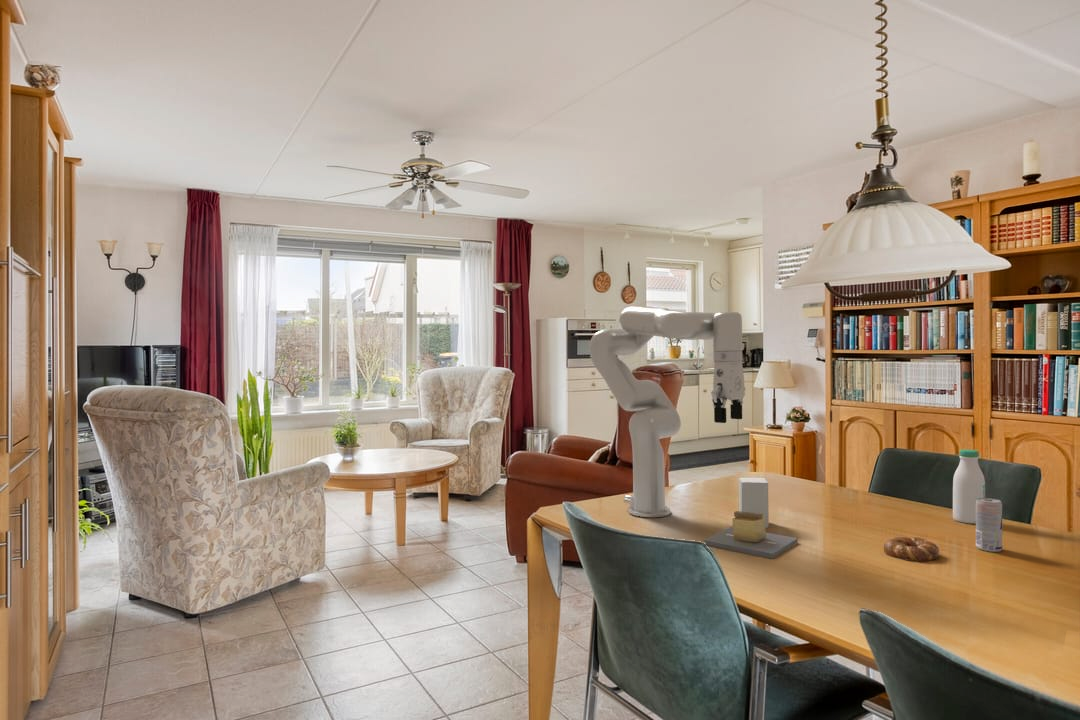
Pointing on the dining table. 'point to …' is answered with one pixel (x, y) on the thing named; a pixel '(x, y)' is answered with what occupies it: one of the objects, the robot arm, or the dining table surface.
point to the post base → (752, 544)
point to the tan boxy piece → (748, 526)
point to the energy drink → (989, 524)
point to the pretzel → (911, 548)
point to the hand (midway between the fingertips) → (728, 420)
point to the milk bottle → (967, 487)
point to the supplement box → (754, 496)
